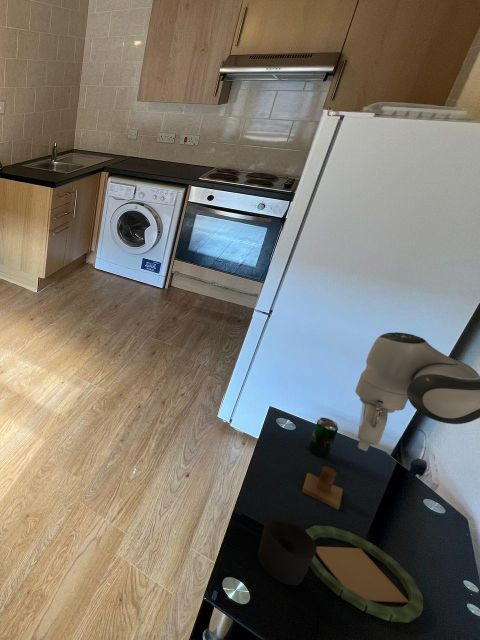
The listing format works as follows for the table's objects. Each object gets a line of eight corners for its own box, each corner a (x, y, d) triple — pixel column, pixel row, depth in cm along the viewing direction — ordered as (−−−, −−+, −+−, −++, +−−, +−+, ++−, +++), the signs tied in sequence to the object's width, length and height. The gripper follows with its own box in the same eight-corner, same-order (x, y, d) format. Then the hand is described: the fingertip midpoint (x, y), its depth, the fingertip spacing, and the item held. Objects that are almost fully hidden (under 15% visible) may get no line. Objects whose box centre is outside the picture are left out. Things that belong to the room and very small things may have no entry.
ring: (419, 575, 94) (422, 569, 94) (420, 646, 81) (423, 640, 80) (308, 516, 109) (310, 511, 108) (293, 568, 95) (295, 562, 95)
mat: (359, 549, 100) (360, 548, 100) (409, 603, 89) (409, 602, 89) (311, 547, 101) (311, 546, 100) (353, 600, 89) (354, 599, 89)
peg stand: (341, 493, 116) (349, 471, 114) (338, 510, 111) (347, 487, 108) (306, 476, 122) (313, 455, 119) (301, 491, 116) (309, 469, 114)
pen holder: (292, 596, 90) (305, 564, 87) (247, 559, 97) (257, 528, 94) (311, 574, 94) (323, 543, 91) (267, 540, 102) (277, 510, 99)
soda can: (309, 444, 134) (319, 414, 131) (328, 452, 131) (339, 422, 127) (306, 452, 131) (317, 421, 127) (327, 461, 127) (338, 430, 124)
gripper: (399, 419, 90) (378, 468, 95) (399, 382, 104) (381, 426, 108) (361, 405, 95) (343, 452, 99) (366, 372, 108) (350, 414, 113)
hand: (363, 438), depth 104 cm, fingers open, 8 cm apart
